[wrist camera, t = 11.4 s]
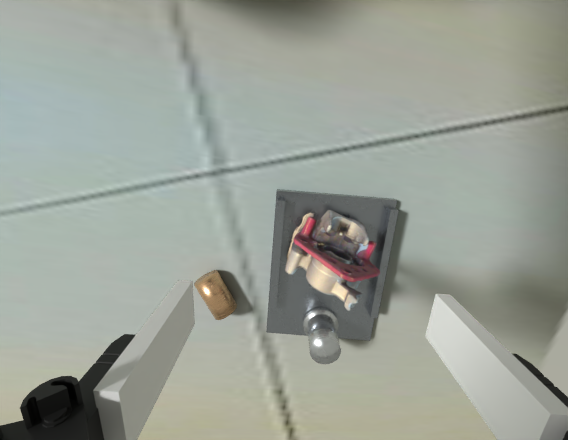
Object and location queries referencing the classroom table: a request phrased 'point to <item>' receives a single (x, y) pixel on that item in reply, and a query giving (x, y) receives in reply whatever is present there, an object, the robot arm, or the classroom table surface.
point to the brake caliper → (333, 255)
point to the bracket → (310, 302)
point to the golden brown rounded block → (216, 295)
